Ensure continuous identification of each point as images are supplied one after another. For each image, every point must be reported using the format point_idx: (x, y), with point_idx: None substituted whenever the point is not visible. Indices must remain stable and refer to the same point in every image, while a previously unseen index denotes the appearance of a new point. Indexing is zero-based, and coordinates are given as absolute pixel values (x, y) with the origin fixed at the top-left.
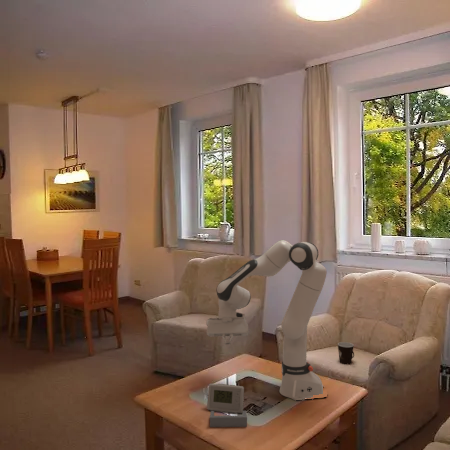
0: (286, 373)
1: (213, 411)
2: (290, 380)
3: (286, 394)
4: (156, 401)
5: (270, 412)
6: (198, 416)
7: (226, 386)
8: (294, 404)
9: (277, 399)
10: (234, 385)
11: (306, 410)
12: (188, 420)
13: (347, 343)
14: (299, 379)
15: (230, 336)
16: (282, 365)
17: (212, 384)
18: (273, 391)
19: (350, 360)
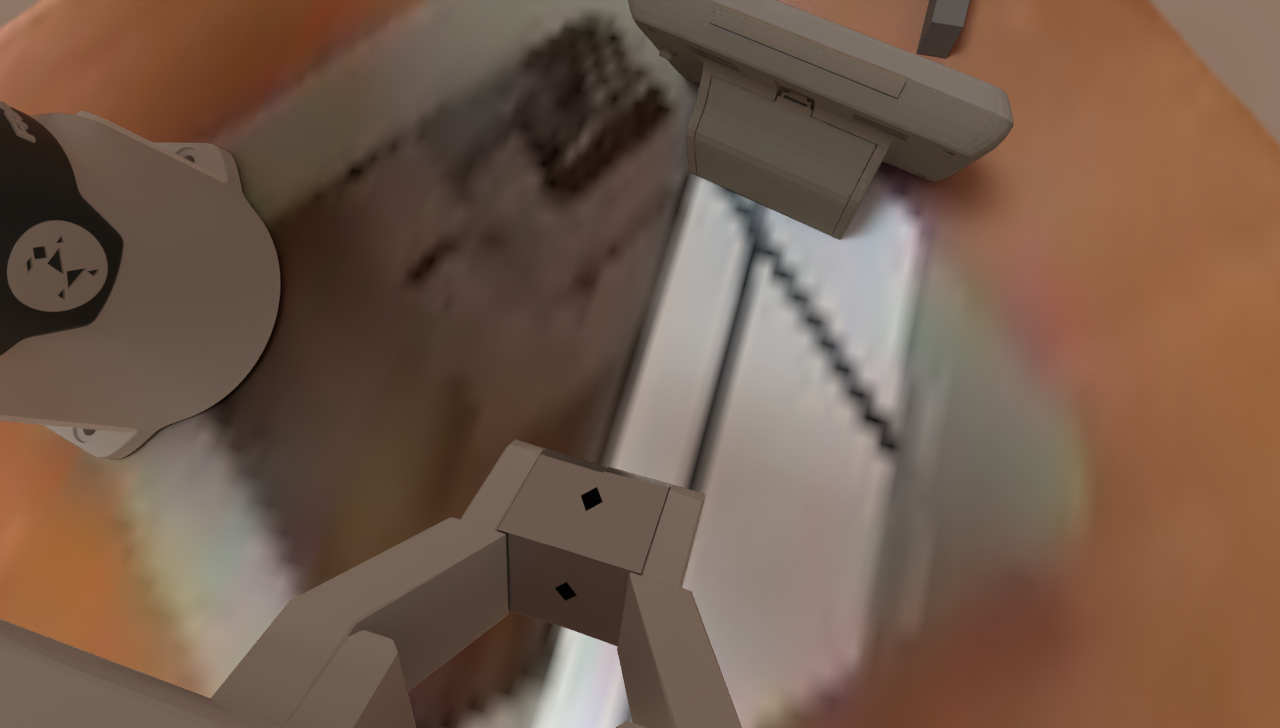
0: (75, 183)
1: (939, 13)
2: (115, 157)
3: (251, 225)
4: None
5: (479, 34)
6: (1048, 81)
7: (815, 16)
8: (269, 111)
9: (346, 214)
10: (721, 6)
11: (238, 15)
12: (1143, 36)
13: None
14: (34, 115)
15: (396, 664)
16: (9, 225)
17: (977, 86)
18: (314, 357)
19: None
